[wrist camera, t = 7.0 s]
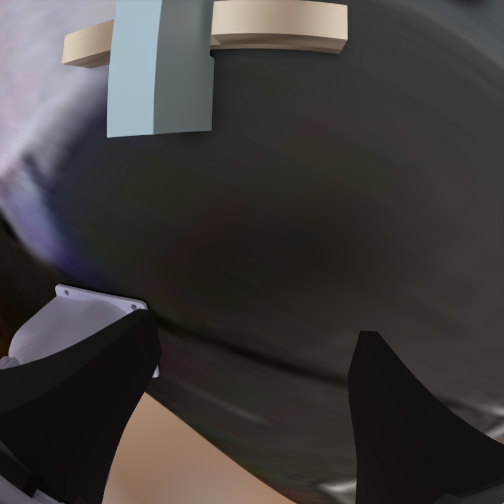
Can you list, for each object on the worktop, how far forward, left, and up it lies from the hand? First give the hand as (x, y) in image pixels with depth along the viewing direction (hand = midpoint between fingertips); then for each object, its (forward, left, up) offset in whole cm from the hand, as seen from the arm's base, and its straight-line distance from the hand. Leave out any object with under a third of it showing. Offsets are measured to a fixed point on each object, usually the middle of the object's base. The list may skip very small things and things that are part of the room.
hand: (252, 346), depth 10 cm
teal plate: (-5, +13, -9) cm, 17 cm away
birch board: (-5, +13, -9) cm, 17 cm away
